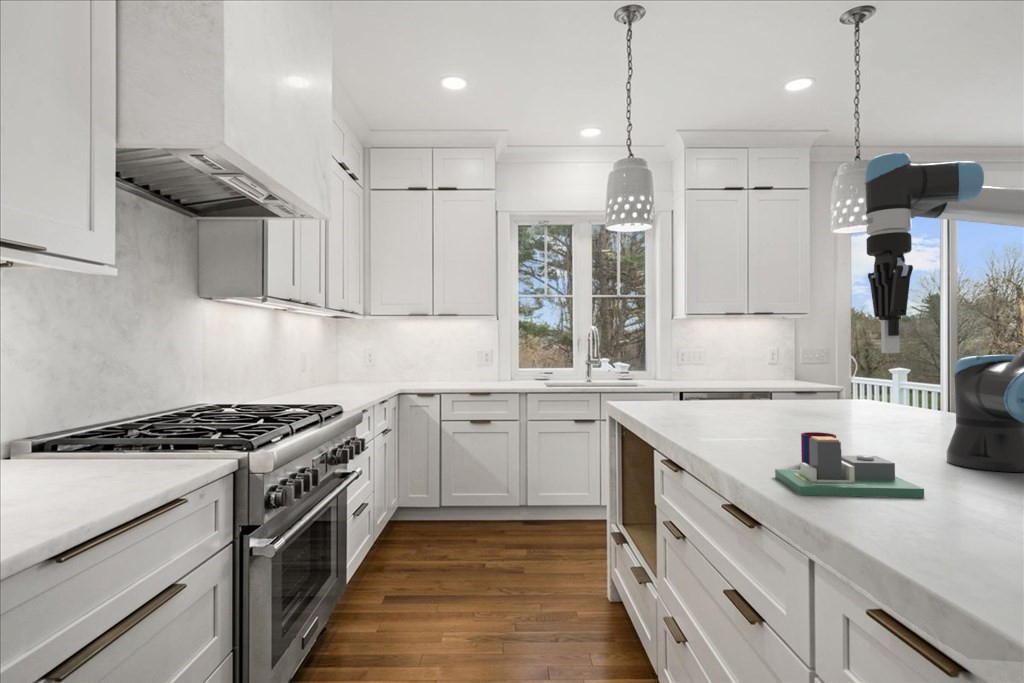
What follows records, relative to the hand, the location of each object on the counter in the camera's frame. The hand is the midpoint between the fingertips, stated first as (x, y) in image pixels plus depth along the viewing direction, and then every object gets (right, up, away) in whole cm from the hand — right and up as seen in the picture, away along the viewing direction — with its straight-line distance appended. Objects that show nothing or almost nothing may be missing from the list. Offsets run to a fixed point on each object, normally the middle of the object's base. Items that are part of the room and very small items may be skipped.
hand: (890, 352), depth 116 cm
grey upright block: (-17, -23, -8) cm, 30 cm away
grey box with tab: (-9, -23, -6) cm, 25 cm away
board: (-14, -25, -8) cm, 29 cm away
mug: (-10, -25, +8) cm, 28 cm away
